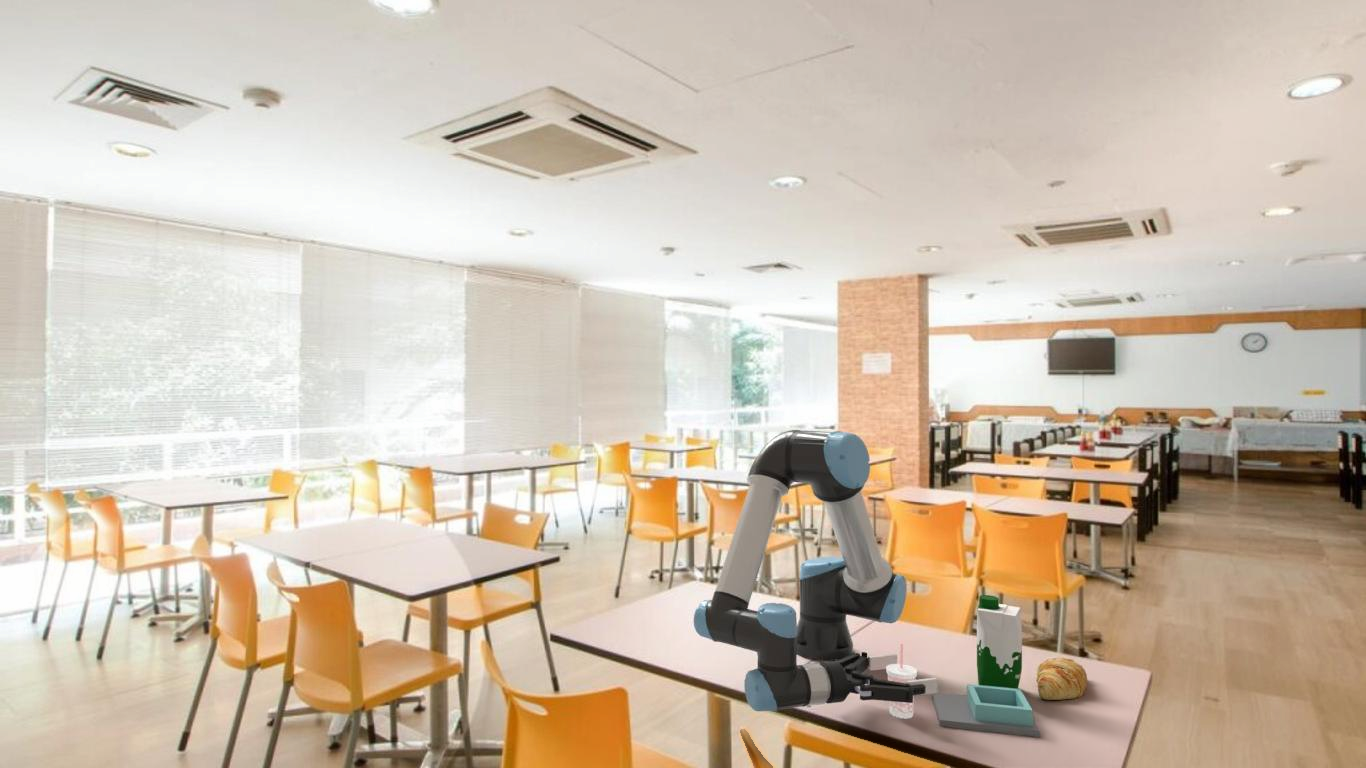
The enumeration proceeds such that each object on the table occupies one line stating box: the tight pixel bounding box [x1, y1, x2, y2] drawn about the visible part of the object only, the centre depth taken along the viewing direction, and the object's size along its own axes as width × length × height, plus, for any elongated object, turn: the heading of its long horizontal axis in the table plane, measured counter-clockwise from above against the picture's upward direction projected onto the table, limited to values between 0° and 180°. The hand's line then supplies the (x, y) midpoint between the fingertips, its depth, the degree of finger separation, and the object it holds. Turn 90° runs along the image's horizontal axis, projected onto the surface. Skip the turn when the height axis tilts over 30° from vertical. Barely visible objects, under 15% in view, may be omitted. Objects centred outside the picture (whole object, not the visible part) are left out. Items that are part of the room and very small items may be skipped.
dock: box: [931, 683, 1041, 738], centre depth 145 cm, size 18×14×4 cm
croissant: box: [1036, 657, 1088, 701], centre depth 158 cm, size 21×10×8 cm, turn 133°
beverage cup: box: [885, 643, 918, 719], centre depth 146 cm, size 6×6×14 cm
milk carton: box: [976, 594, 1023, 689], centre depth 158 cm, size 9×9×20 cm
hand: (915, 672), depth 147 cm, fingers open, 13 cm apart
